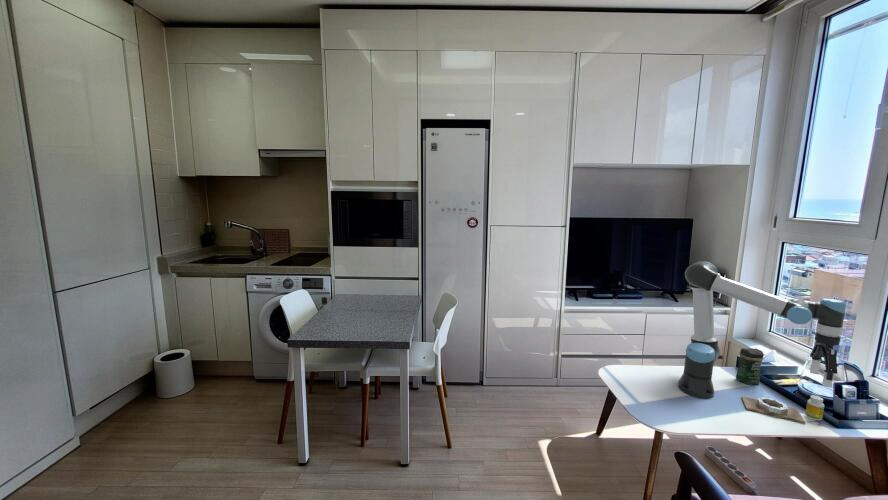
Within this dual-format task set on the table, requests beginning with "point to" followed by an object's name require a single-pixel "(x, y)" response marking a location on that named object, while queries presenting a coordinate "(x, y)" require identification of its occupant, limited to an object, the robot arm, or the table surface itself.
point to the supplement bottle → (815, 408)
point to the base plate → (792, 413)
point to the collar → (764, 405)
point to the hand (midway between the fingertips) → (820, 379)
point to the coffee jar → (749, 366)
